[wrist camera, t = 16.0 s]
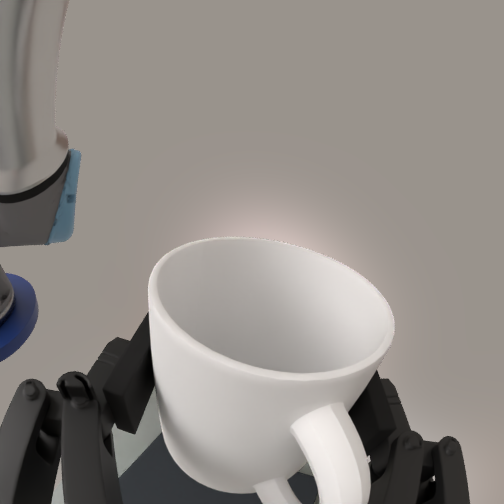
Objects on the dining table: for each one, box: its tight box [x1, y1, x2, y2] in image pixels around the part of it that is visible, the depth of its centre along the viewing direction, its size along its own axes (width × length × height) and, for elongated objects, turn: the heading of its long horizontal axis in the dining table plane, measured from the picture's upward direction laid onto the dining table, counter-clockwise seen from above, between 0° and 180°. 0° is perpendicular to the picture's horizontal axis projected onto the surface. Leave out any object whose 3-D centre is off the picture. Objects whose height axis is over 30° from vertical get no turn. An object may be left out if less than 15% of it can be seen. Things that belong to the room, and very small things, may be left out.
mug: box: [148, 237, 395, 504], centre depth 9 cm, size 12×8×10 cm
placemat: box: [118, 432, 318, 504], centre depth 16 cm, size 16×12×1 cm
